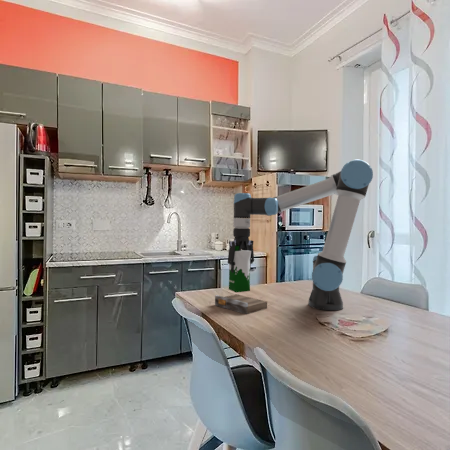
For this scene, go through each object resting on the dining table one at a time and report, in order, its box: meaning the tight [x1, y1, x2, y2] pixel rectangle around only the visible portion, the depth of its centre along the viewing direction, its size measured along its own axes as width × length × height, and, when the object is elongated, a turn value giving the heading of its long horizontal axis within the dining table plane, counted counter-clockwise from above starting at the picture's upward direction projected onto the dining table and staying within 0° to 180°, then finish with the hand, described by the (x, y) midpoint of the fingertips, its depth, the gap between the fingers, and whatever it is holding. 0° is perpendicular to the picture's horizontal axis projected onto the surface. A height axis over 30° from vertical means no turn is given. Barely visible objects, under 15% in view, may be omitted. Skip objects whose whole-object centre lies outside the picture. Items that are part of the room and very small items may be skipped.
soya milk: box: [227, 246, 251, 293], centre depth 147 cm, size 9×9×20 cm
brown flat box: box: [214, 294, 268, 315], centre depth 147 cm, size 19×15×4 cm
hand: (240, 278), depth 147 cm, fingers open, 7 cm apart
